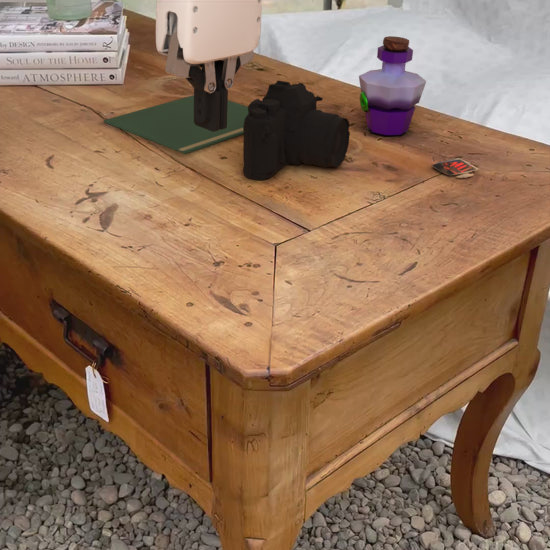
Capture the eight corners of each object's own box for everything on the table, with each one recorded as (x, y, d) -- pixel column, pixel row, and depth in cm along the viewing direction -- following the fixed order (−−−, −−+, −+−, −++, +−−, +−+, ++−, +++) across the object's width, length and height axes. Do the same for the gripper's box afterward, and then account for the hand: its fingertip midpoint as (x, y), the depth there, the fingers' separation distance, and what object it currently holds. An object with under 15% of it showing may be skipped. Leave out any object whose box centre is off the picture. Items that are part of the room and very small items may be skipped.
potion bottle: (341, 125, 104) (347, 34, 98) (390, 115, 108) (399, 27, 102) (383, 145, 98) (393, 49, 92) (433, 134, 102) (446, 41, 96)
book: (185, 154, 94) (185, 151, 93) (103, 122, 103) (103, 119, 103) (284, 120, 105) (284, 118, 105) (203, 94, 114) (203, 92, 114)
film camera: (310, 194, 84) (315, 114, 80) (232, 177, 88) (232, 99, 83) (360, 150, 96) (367, 78, 92) (290, 136, 100) (292, 66, 95)
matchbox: (427, 168, 91) (428, 164, 91) (455, 158, 94) (456, 155, 94) (459, 181, 88) (459, 177, 88) (486, 171, 91) (487, 167, 91)
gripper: (242, -78, 77) (235, 104, 86) (120, -73, 67) (128, 132, 76) (299, -69, 72) (286, 121, 82) (179, -61, 63) (179, 154, 72)
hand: (210, 126), depth 79 cm, fingers closed
